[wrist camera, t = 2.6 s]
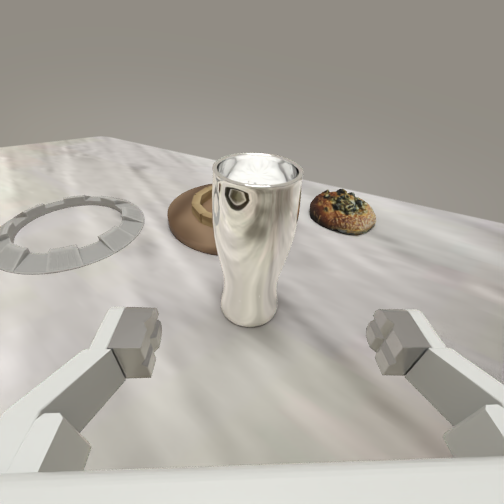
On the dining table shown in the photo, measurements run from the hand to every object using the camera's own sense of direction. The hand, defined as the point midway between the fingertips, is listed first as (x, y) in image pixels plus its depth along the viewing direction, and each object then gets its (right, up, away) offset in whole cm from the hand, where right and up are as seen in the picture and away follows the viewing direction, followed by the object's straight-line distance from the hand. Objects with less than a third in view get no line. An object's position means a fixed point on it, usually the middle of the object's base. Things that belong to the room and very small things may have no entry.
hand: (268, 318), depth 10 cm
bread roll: (+15, +8, +34) cm, 38 cm away
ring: (-26, +5, +28) cm, 39 cm away
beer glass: (-1, -3, +18) cm, 19 cm away
